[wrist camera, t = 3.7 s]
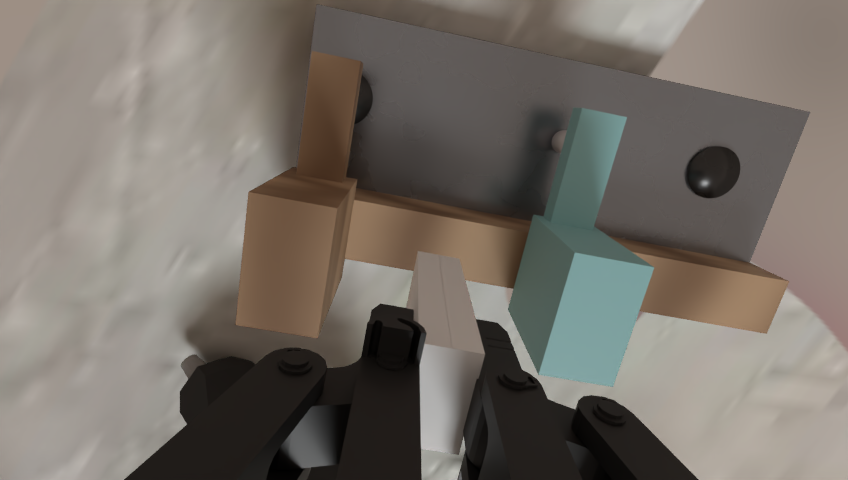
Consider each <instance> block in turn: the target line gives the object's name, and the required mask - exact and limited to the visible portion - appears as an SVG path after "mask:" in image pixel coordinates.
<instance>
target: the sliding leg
mask: <svg viewBox="0 0 848 480" xmlns="http://www.w3.org/2000/svg"><path fill="white" fill-rule="evenodd" d="M626 119H627V117H623V116H618V115H614V114H609V113H604V112H600V111H595V110H590V109H585V108H573V110H572V114H571V117H570V121H569V125H568V128H567V130H561V131H559V132H557V133H556V134H555V135H554V136H553V138H552V147H553V149H554V150H555V151H556V152H558V153H560V158H559V161H558V165H557V169H556V172H555V176H554V180H553V183H552V187H551V191H550V194H549V198H548V202H547V205H546V209H545V213H544V216H539V215H534V214H533V218H532V222H531V225H530V229H529V233H528V237H527V240H526V244H525V248H524V252H523V255H522V259H521V263H520V267H519V270H518V274H517V278H516V282H515V285H514V289H513V293H512V297H511V300H510V304H509V308H508V310H509V312H510V315H511V317H512V319H513V321H514V323H515V325H516V327H517V330H518V332H519V334H520V336H521V338H522V340H523V342H524V345H525V347H526V349H527V351H528V353H529V355H530V357H531V359H532V362H533V364H534V366H535V368H536V370H537V372H538V374H539V375H544V376H550V377H556V378H562V379H568V380H574V381H581V382H587V383H593V384H599V385H605V386H611V387H613V385H614V382H615V379H616V376H617V373H618V371H619V368H620V365H621V362H622V359H623V356H624V353H625V350H626V348H627V345H628V342H629V339H630V336H631V333H632V330H633V327H634V325H635V322H636V319H637V316H638V313H639V310H640V307H641V305H642V302H643V299H644V296H645V293H646V290H647V287H648V284H649V282H650V279H651V276H652V273H653V270H654V267H653V266H652V265H650V264H649V263H647V262H646V261H644V260H643V259H641V258H640V257H638V256H637V255H636V254H634V253H633V252H631V251H630V250H628V249H627V248H625V247H624V246H622V245H621V244H619V243H618V242H616V241H615V240H613V239H612V238H610V237H609V236H608V235H606V234H605V233H603V232H602V231H600V230H599V229H597V228H596V227H594V224H595V221H596V218H597V214H598V211H599V208H600V205H601V201H602V198H603V195H604V191H605V188H606V185H607V182H608V178H609V175H610V172H611V168H612V165H613V162H614V159H615V155H616V152H617V149H618V145H619V142H620V139H621V136H622V132H623V129H624V126H625V122H626Z"/></svg>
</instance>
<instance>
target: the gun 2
mask: <svg viewBox="0 0 848 480" xmlns="http://www.w3.org/2000/svg"><path fill="white" fill-rule="evenodd" d="M254 366H255V364H254V363H253V362H251V361H248V360H244V359H240V358H236V357H232V356H231V357H227V358H224V359H221V360H217V361H214V362H210V363H207V364H206V363H205V362H204V361H203V360H202V359H200V358H199V357H198V356H197V355H191V356H189V357H188V358H186V359H185V360H184V361H183V362H182V364H181V367H182V369H183V370H184V372H185V374H186V375H187V377H188V381H187V382H186V384H185V385H184V387H183V388H182V389H181V391H180V413H181V415H182V416H183V418H184V420H185V421H186V423H187V424H188V423H190V422H191V421H192V420H193V419H194V418H195V417H196V416H198V415H199V414H200V413H201V412H202V411H203V410H204V409H206V408H207V407H208V406H209V405H210V404H211V403H212V402H214V401H215V400H216V399H217V398H218V397H219V396H220V395H222V394H223V393H224V392H225V391H226V390H227V389H228V388H230V387H231V386H232V385H233V384H234V383H235V382H236V381H238V380H239V379H240V378H241V377H242V376H243V375H244V374H246V373H247V372H248V371H249V370H250V369H251V368H252V367H254ZM338 467H339V464H337V465H328V466H319V467H311V470H310V473H309V476H308V478H307V480H336V477H337V472H338Z"/></svg>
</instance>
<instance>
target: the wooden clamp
mask: <svg viewBox="0 0 848 480" xmlns="http://www.w3.org/2000/svg"><path fill="white" fill-rule="evenodd" d="M362 70H363V63H362V62H361V61H358V60H353V59H348V58H344V57H339V56H334V55H329V54H325V53H320V52H315V51H312V53H311V61H310V69H309V77H308V85H307V93H306V101H305V109H304V117H303V125H302V133H301V141H300V149H299V157H298V165H297V168H296V167H293V168H291V169H289V170H287V171H285V172H284V173H282V174H280V175H278V176H276V177H275V178H273V179H271V180H269V181H267V182H266V183H264V184H262V185H260V186H258V187H257V188H255V189H253V190H251V191H249V193H248V203H247V213H246V223H245V233H244V243H243V253H242V264H241V274H240V284H239V294H238V304H237V314H236V324H235V325H239V326H245V327H251V328H257V329H263V330H269V331H275V332H281V333H287V334H294V335H300V336H306V337H312V338H318V336H319V333H320V331H321V328H322V326H323V323H324V321H325V318H326V316H327V313H328V311H329V308H330V306H331V303H332V300H333V298H334V295H335V293H336V290H337V288H338V285H339V283H340V280H341V278H342V272H343V266H344V260H345V259H349V260H355V261H361V262H366V263H372V264H378V265H383V266H389V267H394V268H400V269H406V270H411V271H414V268H415V263H416V258H417V253H418V251H420V252H426V253H431V254H437V255H442V256H448V257H453V258H458V259H460V263H461V266H462V270H463V274H464V277H465V280H468V281H473V282H479V283H484V284H490V285H496V286H501V287H507V288H513V289H514V285H515V282H516V278H517V274H518V270H519V267H520V263H521V259H522V255H523V252H524V248H525V244H526V240H527V237H528V233H529V229H530V225H531V222H532V221H527V220H522V219H517V218H512V217H506V216H501V215H496V214H490V213H485V212H480V211H475V210H469V209H464V208H459V207H454V206H448V205H443V204H438V203H433V202H427V201H422V200H417V199H411V198H406V197H401V196H396V195H390V194H385V193H380V192H375V191H369V190H364V189H359V188H356V185H357V179H353V178H348V177H346V174H347V167H348V161H349V154H350V148H351V141H352V135H353V128H354V122H355V115H356V109H357V102H358V96H359V89H360V83H361V76H362ZM609 237H610V238H612V239H613V240H615V241H616V242H618V243H619V244H621V245H622V246H624V247H625V248H627V249H628V250H630V251H631V252H633V253H634V254H636V255H637V256H638V257H640V258H641V259H643V260H644V261H646V262H647V263H649V264H650V265H652V266H653V267H654V270H653V273H652V276H651V279H650V282H649V284H648V287H647V290H646V293H645V296H644V299H643V302H642V305H641V307H640V310H639V311H642V312H648V313H653V314H659V315H665V316H670V317H676V318H681V319H687V320H693V321H698V322H704V323H710V324H715V325H721V326H726V327H732V328H738V329H743V330H749V331H755V332H760V333H766V334H767V331H768V329H769V327H770V325H771V322H772V320H773V318H774V315H775V313H776V311H777V308H778V306H779V304H780V301H781V299H782V297H783V295H784V292H785V290H786V288H787V285H788V283H789V281H787V280H785V279H783V278H781V277H778V276H776V275H774V274H772V273H770V272H768V271H766V270H764V269H762V268H760V267H757V266H755V265H753V264H751V263H749V262H743V261H738V260H733V259H728V258H722V257H717V256H712V255H706V254H701V253H696V252H691V251H685V250H680V249H675V248H670V247H664V246H659V245H654V244H649V243H643V242H638V241H633V240H627V239H622V238H617V237H612V236H609Z"/></svg>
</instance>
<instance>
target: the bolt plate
mask: <svg viewBox="0 0 848 480" xmlns="http://www.w3.org/2000/svg"><path fill="white" fill-rule="evenodd" d="M312 51H315V52H320V53H325V54H329V55H334V56H339V57H344V58H348V59H353V60H358V61H361V62H362V63H363V70H362V76H361V83H360V89H359V96H358V102H357V109H356V115H355V122H354V128H353V135H352V141H351V148H350V154H349V161H348V167H347V174H346V177H348V178H353V179H357V185H356V188H359V189H364V190H369V191H375V192H380V193H385V194H390V195H396V196H401V197H406V198H411V199H417V200H422V201H427V202H433V203H438V204H443V205H448V206H454V207H459V208H464V209H469V210H475V211H480V212H485V213H490V214H496V215H501V216H506V217H512V218H517V219H522V220H527V221H532V218H533V214H534V215H539V216H544V213H545V209H546V205H547V202H548V198H549V194H550V191H551V187H552V183H553V180H554V176H555V172H556V169H557V165H558V161H559V158H560V153H558V152H556V151H555V150H554V149H553V147H552V138H553V136H554V135H555V134H556V133H557V132H559V131H561V130H567V128H568V125H569V121H570V117H571V114H572V110H573V108H585V109H590V110H595V111H600V112H604V113H609V114H614V115H618V116H623V117H627V119H626V122H625V126H624V129H623V132H622V136H621V139H620V142H619V145H618V149H617V152H616V155H615V159H614V162H613V165H612V168H611V172H610V175H609V178H608V182H607V185H606V188H605V191H604V195H603V198H602V201H601V205H600V208H599V211H598V214H597V218H596V221H595V224H594V227H596V228H597V229H599V230H600V231H602V232H603V233H605V234H606V235H608V236H612V237H617V238H622V239H627V240H633V241H638V242H643V243H649V244H654V245H659V246H664V247H670V248H675V249H680V250H685V251H691V252H696V253H701V254H706V255H712V256H717V257H722V258H728V259H733V260H738V261H743V262H750V260H751V257H752V255H753V252H754V250H755V247H756V245H757V243H758V240H759V238H760V235H761V233H762V230H763V227H764V225H765V223H766V220H767V218H768V215H769V213H770V210H771V208H772V205H773V203H774V200H775V198H776V196H777V193H778V191H779V188H780V186H781V183H782V181H783V178H784V176H785V173H786V171H787V168H788V166H789V163H790V161H791V158H792V156H793V153H794V151H795V149H796V146H797V144H798V141H799V139H800V136H801V134H802V131H803V129H804V126H805V124H806V121H807V119H808V116H809V114H810V112H807V111H803V110H798V109H794V108H789V107H785V106H780V105H775V104H771V103H766V102H761V101H757V100H753V99H748V98H743V97H738V96H734V95H730V94H725V93H721V92H716V91H711V90H707V89H702V88H698V87H693V86H689V85H684V84H679V83H675V82H670V81H665V80H661V79H657V78H652V77H647V76H643V75H638V74H634V73H629V72H625V71H620V70H616V69H611V68H606V67H602V66H597V65H593V64H588V63H584V62H579V61H574V60H570V59H565V58H561V57H556V56H552V55H547V54H542V53H538V52H533V51H529V50H524V49H520V48H515V47H510V46H506V45H501V44H497V43H492V42H488V41H483V40H478V39H474V38H469V37H465V36H460V35H456V34H451V33H446V32H442V31H437V30H433V29H428V28H424V27H419V26H415V25H410V24H405V23H401V22H396V21H392V20H387V19H383V18H378V17H373V16H369V15H364V14H360V13H355V12H351V11H346V10H341V9H337V8H332V7H328V6H323V5H319V4H317V5H316V13H315V21H314V29H313V37H312V45H311V53H312ZM311 53H310V61H311ZM310 61H309V69H310ZM309 69H308V77H309ZM308 77H307V85H308ZM307 85H306V93H307ZM306 93H305V101H306ZM305 101H304V109H305ZM304 109H303V117H304ZM303 117H302V125H303ZM302 125H301V133H302ZM301 133H300V141H301ZM300 141H299V149H300ZM299 149H298V157H299ZM298 157H297V165H298ZM297 165H296V168H297Z"/></svg>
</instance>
